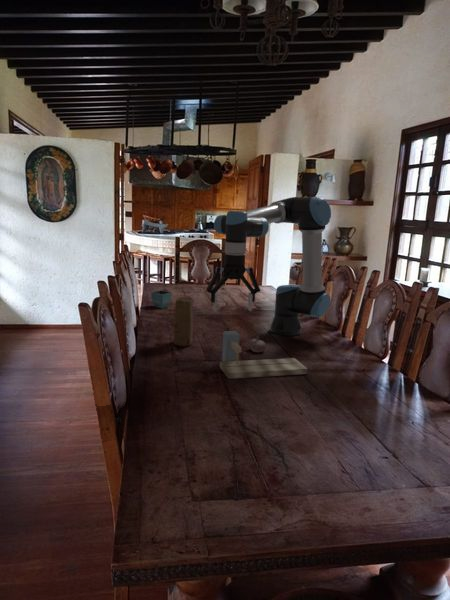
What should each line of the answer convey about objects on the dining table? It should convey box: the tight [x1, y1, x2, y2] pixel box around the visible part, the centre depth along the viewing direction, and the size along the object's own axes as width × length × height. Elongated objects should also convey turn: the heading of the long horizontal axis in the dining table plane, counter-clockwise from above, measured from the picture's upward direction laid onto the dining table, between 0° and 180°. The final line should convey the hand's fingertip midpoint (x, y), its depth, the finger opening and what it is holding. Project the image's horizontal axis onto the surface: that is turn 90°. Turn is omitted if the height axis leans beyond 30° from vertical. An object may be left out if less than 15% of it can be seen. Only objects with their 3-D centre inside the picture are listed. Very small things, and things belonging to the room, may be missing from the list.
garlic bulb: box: [249, 332, 266, 353], centre depth 190 cm, size 8×7×8 cm
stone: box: [173, 296, 194, 347], centre depth 194 cm, size 11×8×20 cm
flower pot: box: [150, 289, 173, 309], centre depth 263 cm, size 9×9×9 cm
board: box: [219, 357, 309, 379], centre depth 167 cm, size 30×12×2 cm, turn 105°
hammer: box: [221, 330, 243, 364], centre depth 169 cm, size 5×13×12 cm, turn 15°
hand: (232, 310), depth 170 cm, fingers open, 13 cm apart
